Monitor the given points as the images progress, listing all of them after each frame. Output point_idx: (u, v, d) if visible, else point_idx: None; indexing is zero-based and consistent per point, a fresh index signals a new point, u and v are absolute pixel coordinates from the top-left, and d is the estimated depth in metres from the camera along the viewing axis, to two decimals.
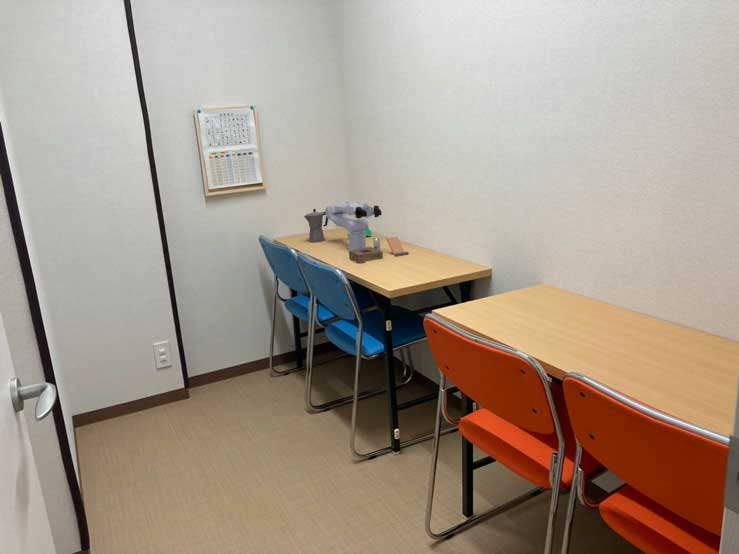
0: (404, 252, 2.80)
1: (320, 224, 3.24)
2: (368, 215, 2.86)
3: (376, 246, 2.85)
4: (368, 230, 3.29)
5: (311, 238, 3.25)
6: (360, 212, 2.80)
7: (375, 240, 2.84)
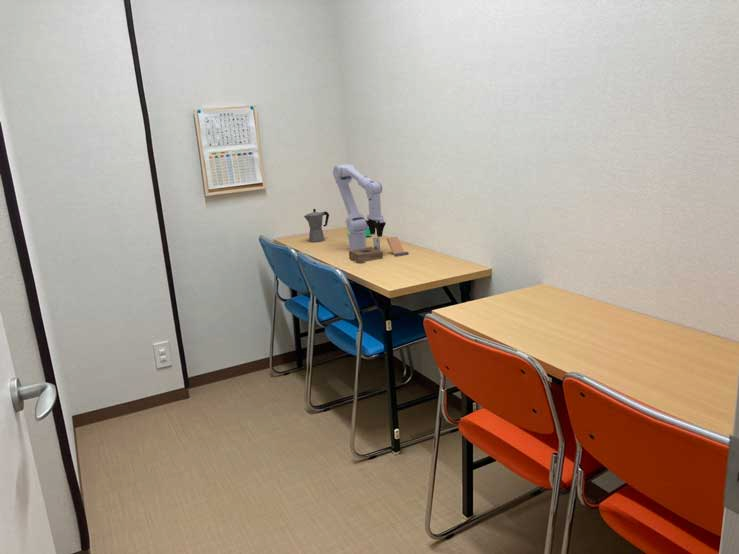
0: (404, 252, 2.80)
1: (320, 224, 3.24)
2: None
3: (376, 246, 2.85)
4: (368, 230, 3.28)
5: (311, 238, 3.25)
6: (380, 225, 2.80)
7: (375, 240, 2.84)
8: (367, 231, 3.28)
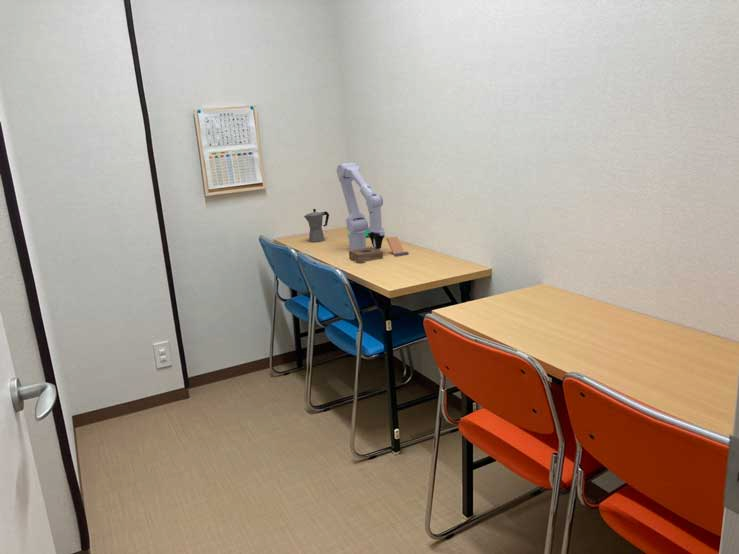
0: (404, 252, 2.80)
1: (320, 224, 3.24)
2: None
3: None
4: None
5: (311, 238, 3.25)
6: (378, 237, 2.83)
7: None
8: (367, 231, 3.28)
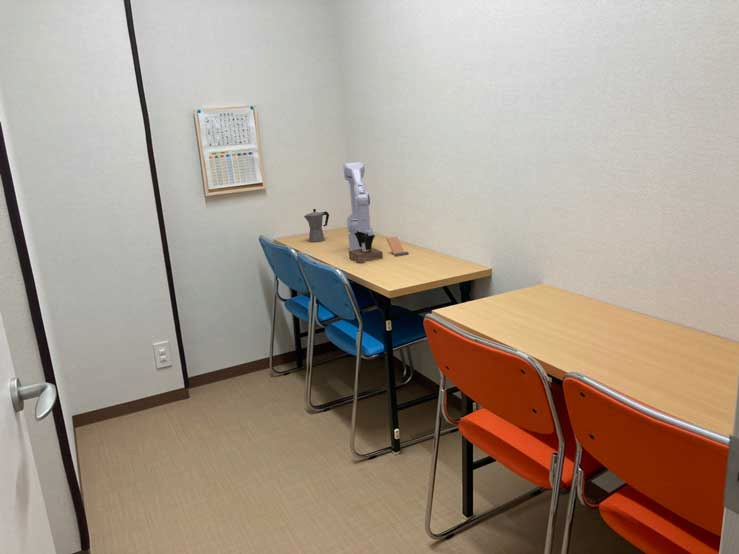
0: (404, 252, 2.80)
1: (320, 224, 3.24)
2: None
3: (365, 251, 2.76)
4: None
5: (311, 238, 3.25)
6: (369, 238, 2.72)
7: (364, 245, 2.75)
8: None
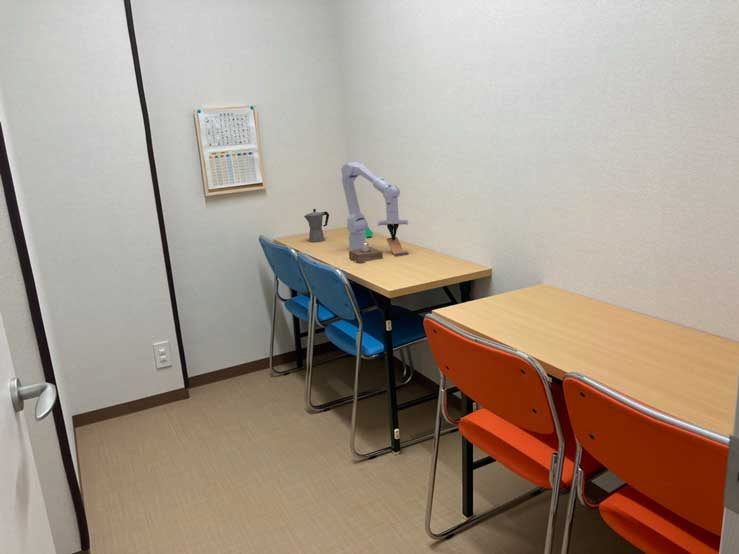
0: (404, 252, 2.80)
1: (320, 224, 3.24)
2: None
3: (365, 251, 2.76)
4: (369, 231, 3.27)
5: (311, 238, 3.25)
6: None
7: (364, 245, 2.75)
8: (368, 232, 3.27)
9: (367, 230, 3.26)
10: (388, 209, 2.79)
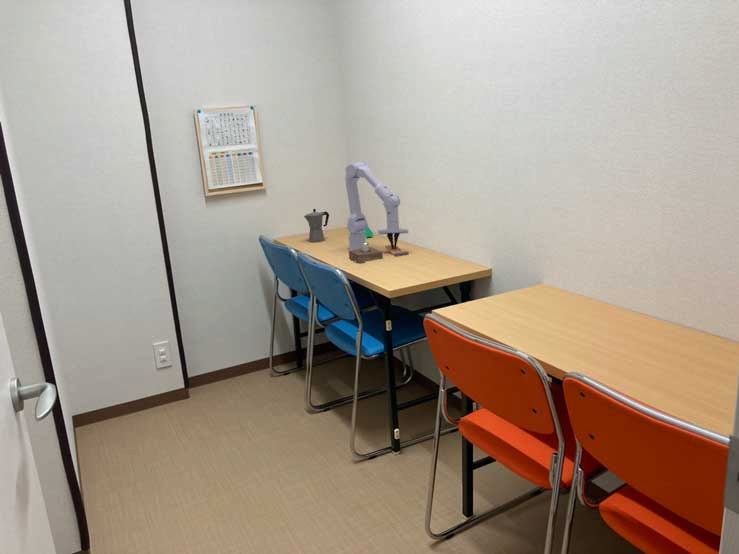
0: (404, 252, 2.80)
1: (320, 224, 3.24)
2: None
3: (365, 251, 2.76)
4: (369, 231, 3.27)
5: (311, 238, 3.25)
6: None
7: (364, 245, 2.75)
8: (368, 232, 3.26)
9: (367, 230, 3.26)
10: (388, 218, 2.80)
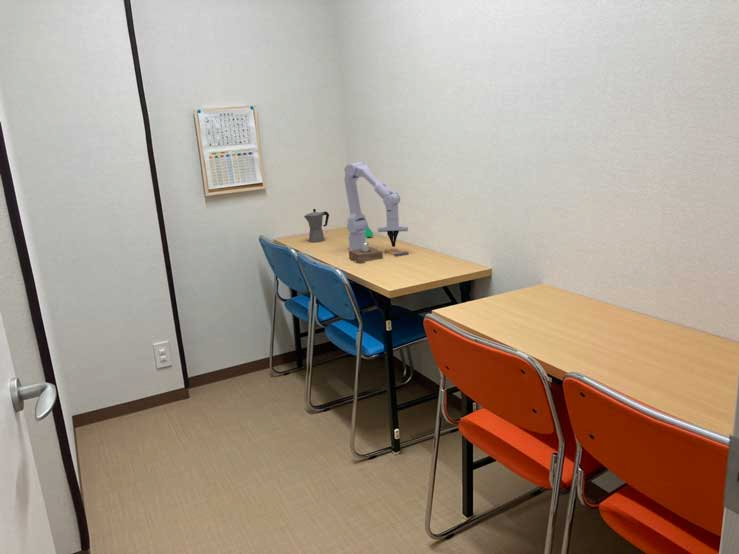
0: (404, 252, 2.80)
1: (320, 224, 3.24)
2: None
3: (365, 251, 2.76)
4: (369, 231, 3.26)
5: (311, 238, 3.25)
6: None
7: (364, 245, 2.75)
8: (368, 232, 3.26)
9: (367, 230, 3.26)
10: (388, 216, 2.80)
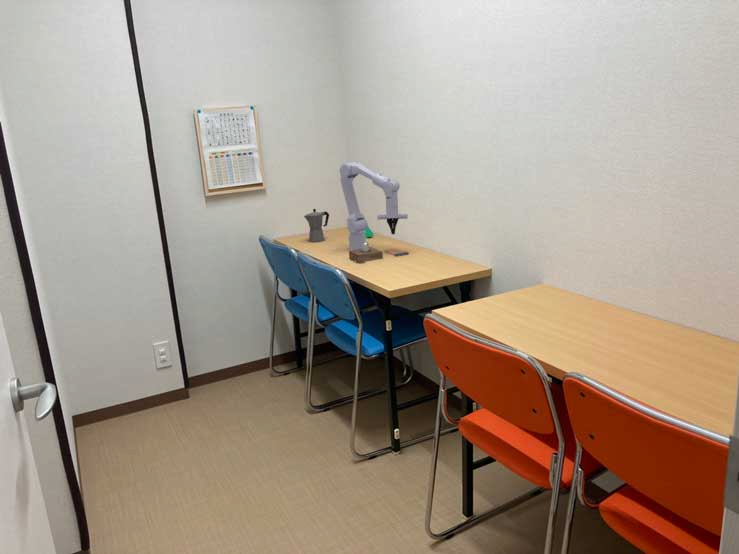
0: (404, 252, 2.80)
1: (320, 224, 3.24)
2: None
3: (365, 251, 2.76)
4: (369, 231, 3.26)
5: (311, 238, 3.25)
6: None
7: (364, 245, 2.75)
8: (368, 232, 3.26)
9: (367, 230, 3.25)
10: (388, 203, 2.78)
